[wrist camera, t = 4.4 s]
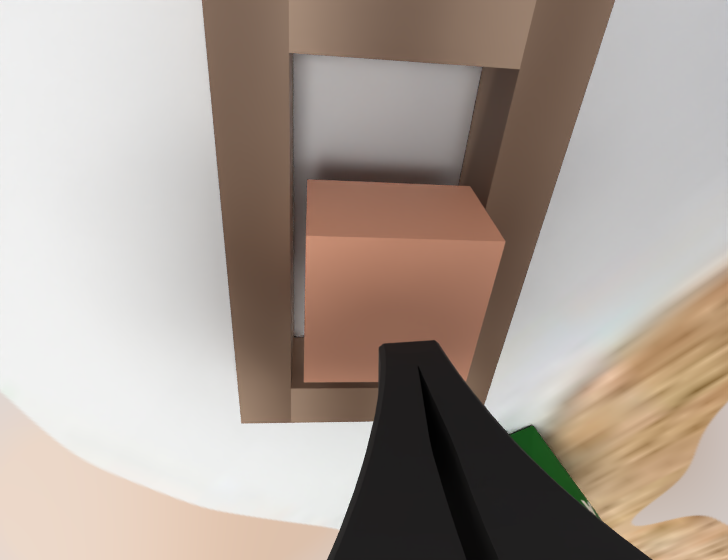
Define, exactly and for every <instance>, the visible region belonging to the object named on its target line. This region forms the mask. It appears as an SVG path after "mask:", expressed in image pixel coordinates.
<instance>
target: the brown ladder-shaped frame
mask: <svg viewBox="0 0 728 560" xmlns="http://www.w3.org/2000/svg"><path fill="white" fill-rule="evenodd" d="M614 2H615V0H202V6H203V17H204V28H205V38H206V49H207V60H208V71H209V81H210V92H211V103H212V113H213V124H214V135H215V146H216V156H217V167H218V178H219V189H220V199H221V210H222V221H223V232H224V242H225V253H226V264H227V274H228V285H229V296H230V307H231V317H232V328H233V339H234V350H235V360H236V371H237V382H238V392H239V403H240V414H241V423H300V422H365V421H374V417H375V411H376V405H377V399H378V382H304V337H294V281H293V53H298V54H312V55H326V56H340V57H354V58H368V59H382V60H396V61H410V62H424V63H438V64H452V65H466V66H480V67H483V68H482V73H481V78H480V83H479V88H478V93H477V98H476V103H475V108H474V112H473V117H472V122H471V127H470V132H469V137H468V142H467V147H466V152H465V157H464V161H463V166H462V171H461V176H460V181H459V186H470V187H471V188H472V190H473V191H474V193H475V194H476V196H477V198H478V199H479V201H480V202H481V204H482V205H483V207H484V208H485V210H486V212H487V213H488V215H489V216H490V218H491V219H492V221H493V223H494V224H495V226H496V227H497V229H498V230H499V232H500V233H501V235H502V237H503V238H504V240H505V241H506V242H505V246H504V249H503V253H502V256H501V260H500V263H499V267H498V271H497V274H496V278H495V281H494V285H493V288H492V292H491V295H490V299H489V302H488V306H487V310H486V313H485V317H484V320H483V324H482V327H481V331H480V334H479V338H478V341H477V345H476V349H475V352H474V356H473V359H472V363H471V366H470V370H469V373H468V377H467V380H466V381H465V382H466V383H467V385H468V386H469V387H470V389H471V390H472V391H473V392H474V394H475V395H476V396H477V397H478V399H479V400H480V401H481V402H482V404H483V405H484V403H485V400H486V397H487V394H488V391H489V388H490V385H491V382H492V379H493V376H494V373H495V369H496V366H497V363H498V360H499V357H500V354H501V351H502V348H503V345H504V342H505V339H506V335H507V332H508V329H509V326H510V323H511V320H512V317H513V314H514V311H515V308H516V305H517V302H518V298H519V295H520V292H521V289H522V286H523V283H524V280H525V277H526V274H527V271H528V268H529V264H530V261H531V258H532V255H533V252H534V249H535V246H536V243H537V240H538V237H539V234H540V230H541V227H542V224H543V221H544V218H545V215H546V212H547V209H548V206H549V203H550V200H551V196H552V193H553V190H554V187H555V184H556V181H557V178H558V175H559V172H560V169H561V166H562V162H563V159H564V156H565V153H566V150H567V147H568V144H569V141H570V138H571V135H572V132H573V128H574V125H575V122H576V119H577V116H578V113H579V110H580V107H581V104H582V101H583V98H584V94H585V91H586V88H587V85H588V82H589V79H590V76H591V73H592V70H593V67H594V64H595V61H596V57H597V54H598V51H599V48H600V45H601V42H602V39H603V36H604V33H605V30H606V27H607V23H608V20H609V17H610V14H611V11H612V8H613V5H614Z"/></svg>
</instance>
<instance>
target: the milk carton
mask: <svg viewBox="0 0 728 560" xmlns="http://www.w3.org/2000/svg"><path fill="white" fill-rule="evenodd" d="M510 436H511V437H512V438H513V439H514V440H515V442H516V443H517V444H518V445H519V446H520V447H521V448H522V449H523V450H524V451H525V452H526V453H527V454H528V455H529V456H530V457H531V458H532V459H533V460H534V461H535V462H536V463H537V464H538V465H539V466H540V467H541V468H542V469H543V470H544V471H545V472H546V473H547V474H548V475H549V476H550V477H552V478H553V479H554V480H555V481H556V482H557V483H558V484H559V485H560V486H561V487H563V488H564V489H565V490H566V491H567V492H568V493H569V494H570V495H571V496H573V497H574V498H575V499H576V500H577V501H578V502H580V503H581V504H582V505H583V506H585V507H586V508H587V509H588V510H589V511H591V512H592V513H593V514H594V515H596V516H597V517H598V518H599V519H600V517H599V516H598V514H597V513H596V511H595V510H594V509H593V507H592V506H591V504H590V503H589V502H588V500H587V499H586V497H585V496H584V495H583V493H582V492H581V491H580V489H579V488H578V486H577V485H576V484H575V482H574V481H573V480H572V478H571V477H570V475H569V474H568V473H567V471H566V470H565V469H564V467H563V466H562V465H561V463H560V462H559V460H558V459H557V458H556V456H555V455H554V454H553V452H552V451H551V449H550V448H549V447H548V445H547V444H546V443H545V441H544V440H543V439H542V437H541V436H540V434H539V433H538V432H537V430H536V429H535V428H534V426H530V427H528V428H525V429H523V430H521V431H518V432H516V433H513V434H511V435H510ZM600 520H601V519H600Z"/></svg>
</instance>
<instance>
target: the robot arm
mask: <svg viewBox="0 0 728 560" xmlns="http://www.w3.org/2000/svg"><path fill="white" fill-rule="evenodd" d="M327 560H652V559H651V558H649V557H648V556H647V555H645V554H644V553H643V552H641V551H640V550H639V549H637V548H636V547H635V546H633V545H632V544H631V543H629V542H628V541H627V540H625V539H624V538H623V537H621V536H620V535H619V534H618V533H616V532H615V531H614V530H613V529H611V528H610V527H609V526H608V525H607V524H605V523H604V522H603V521H602V520H600V519H599V518H598V517H597V516H596V515H594V514H593V513H592V512H591V511H589V510H588V509H587V508H586V507H585V506H583V505H582V504H581V503H580V502H578V501H577V500H576V499H575V498H574V497H573V496H571V495H570V494H569V493H568V492H567V491H566V490H565V489H564V488H563V487H561V486H560V485H559V484H558V483H557V482H556V481H555V480H554V479H553V478H552V477H550V476H549V475H548V474H547V473H546V472H545V471H544V470H543V469H542V468H541V467H540V466H539V465H538V464H537V463H536V462H535V461H534V460H533V459H532V458H531V457H530V456H529V455H528V454H527V453H526V452H525V451H524V450H523V449H522V448H521V447H520V446H519V445H518V444H517V443H516V442H515V440H514V439H513V438H512V437H511V436H510V435H509V434H508V433H507V432H506V431H505V429H504V428H503V427H502V426H501V425H500V424H499V423H498V422H497V420H496V419H495V418H494V417H493V416H492V415H491V413H490V412H489V411H488V410H487V409H486V407H485V406H484V405H483V404H482V402H481V401H480V400H479V399H478V397H477V396H476V395H475V394H474V392H473V391H472V390H471V389H470V387H469V386H468V385H467V383H466V382H465V381H464V379H463V378H462V377H461V375H460V374H459V373H458V371H457V370H456V368H455V367H454V366H453V364H452V363H451V361H450V360H449V358H448V357H447V355H446V354H445V352H444V351H443V349H442V348H441V346H440V344H439V343H438V342H437V341H435V340H428V341H413V342H397V343H383V344H382V345H381V346H380V347H379V363H378V399H377V405H376V411H375V417H374V421H373V426H372V430H371V434H370V438H369V442H368V446H367V450H366V454H365V458H364V461H363V465H362V468H361V471H360V474H359V477H358V481H357V484H356V487H355V490H354V493H353V496H352V498H351V501H350V504H349V507H348V509H347V512H346V515H345V518H344V520H343V523H342V526H341V528H340V531H339V533H338V536H337V538H336V541H335V543H334V545H333V548H332V550H331V552H330V554H329V557H328V559H327Z"/></svg>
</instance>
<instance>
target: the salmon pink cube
mask: <svg viewBox="0 0 728 560" xmlns="http://www.w3.org/2000/svg"><path fill="white" fill-rule="evenodd" d="M505 242H506V241H505V240H504V238H503V237H502V235H501V233H500V232H499V230H498V229H497V227H496V226H495V224H494V223H493V221H492V219H491V218H490V216H489V215H488V213H487V212H486V210H485V208H484V207H483V205H482V204H481V202H480V201H479V199H478V198H477V196H476V194H475V193H474V191H473V190H472V188H471V187H470V186H456V185H432V184H408V183H384V182H360V181H336V180H312V179H307V213H306V262H305V327H304V382H378V363H379V347H380V346H381V345H382V344H383V343H397V342H413V341H428V340H435V341H437V342H438V343H439V344H440V346H441V348H442V349H443V351H444V352H445V354H446V355H447V357H448V358H449V360H450V361H451V363H452V364H453V366H454V367H455V368H456V370H457V371H458V373H459V374H460V375H461V377H462V378H463V379H464V381H466V380H467V377H468V373H469V370H470V366H471V363H472V359H473V356H474V352H475V349H476V345H477V341H478V338H479V334H480V331H481V327H482V324H483V320H484V317H485V313H486V310H487V306H488V302H489V299H490V295H491V292H492V288H493V285H494V281H495V278H496V274H497V271H498V267H499V263H500V260H501V256H502V253H503V249H504V246H505Z"/></svg>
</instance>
